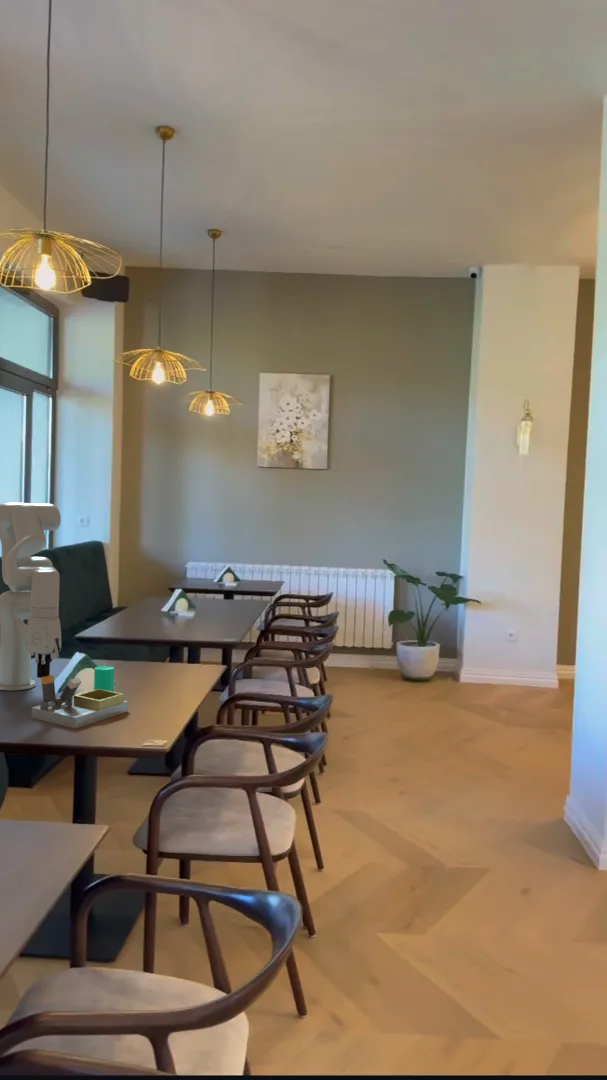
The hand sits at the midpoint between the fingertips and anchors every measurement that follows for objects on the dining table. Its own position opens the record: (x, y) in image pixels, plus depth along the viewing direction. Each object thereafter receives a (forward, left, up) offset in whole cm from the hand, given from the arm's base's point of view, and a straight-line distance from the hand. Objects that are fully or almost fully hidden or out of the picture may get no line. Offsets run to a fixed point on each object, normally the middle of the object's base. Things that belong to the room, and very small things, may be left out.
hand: (43, 676), depth 216 cm
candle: (+2, +23, -12) cm, 25 cm away
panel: (+7, +8, -12) cm, 16 cm away
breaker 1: (+3, 0, -8) cm, 8 cm away
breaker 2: (+3, +5, -8) cm, 10 cm away
